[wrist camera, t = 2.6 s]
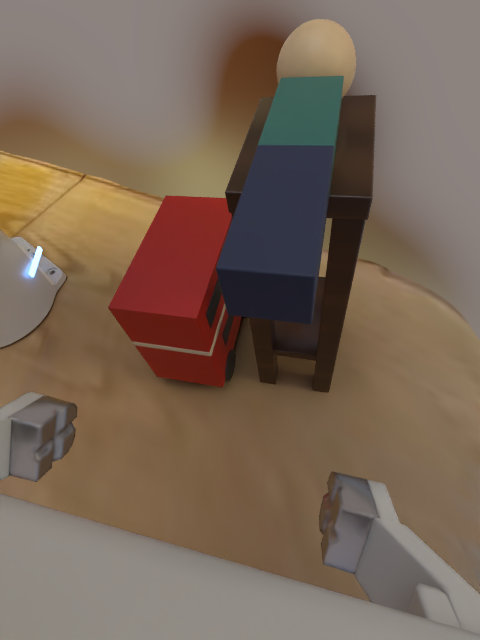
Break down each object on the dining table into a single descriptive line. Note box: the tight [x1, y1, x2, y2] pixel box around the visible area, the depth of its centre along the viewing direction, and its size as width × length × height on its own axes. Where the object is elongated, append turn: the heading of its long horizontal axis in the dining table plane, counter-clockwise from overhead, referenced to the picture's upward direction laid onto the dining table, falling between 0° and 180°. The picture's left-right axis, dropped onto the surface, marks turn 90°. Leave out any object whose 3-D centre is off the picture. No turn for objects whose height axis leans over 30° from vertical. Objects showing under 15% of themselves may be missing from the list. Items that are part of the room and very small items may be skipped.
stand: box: [225, 95, 376, 392], centre depth 33 cm, size 11×8×26 cm
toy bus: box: [108, 196, 242, 387], centre depth 40 cm, size 15×8×16 cm, turn 167°
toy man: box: [216, 19, 356, 324], centre depth 18 cm, size 20×5×5 cm, turn 167°
